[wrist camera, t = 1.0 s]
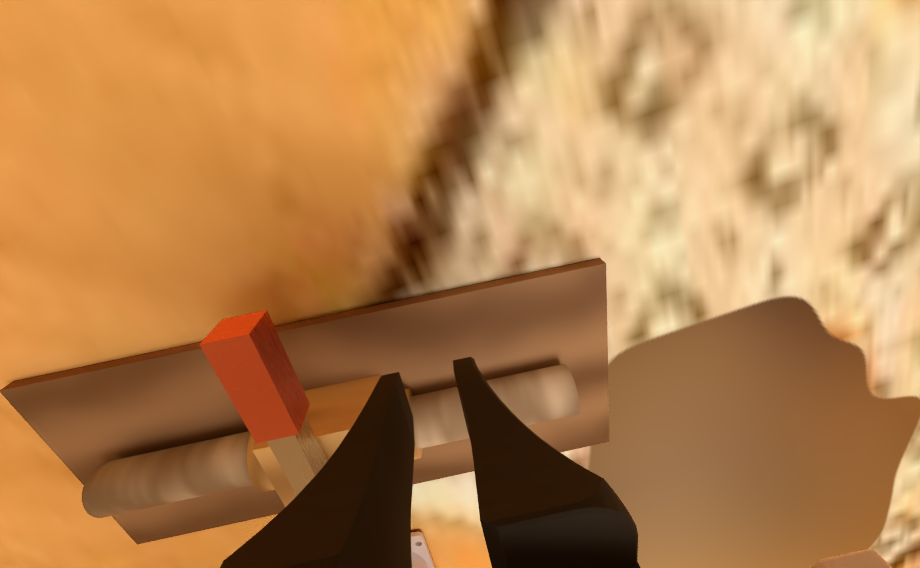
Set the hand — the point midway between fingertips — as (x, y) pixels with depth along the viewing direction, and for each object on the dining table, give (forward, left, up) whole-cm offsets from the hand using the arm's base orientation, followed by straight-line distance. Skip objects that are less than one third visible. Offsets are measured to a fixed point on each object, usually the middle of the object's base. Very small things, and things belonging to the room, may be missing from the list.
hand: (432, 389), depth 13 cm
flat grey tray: (-8, +7, -9) cm, 14 cm away
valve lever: (-3, +7, -4) cm, 9 cm away
